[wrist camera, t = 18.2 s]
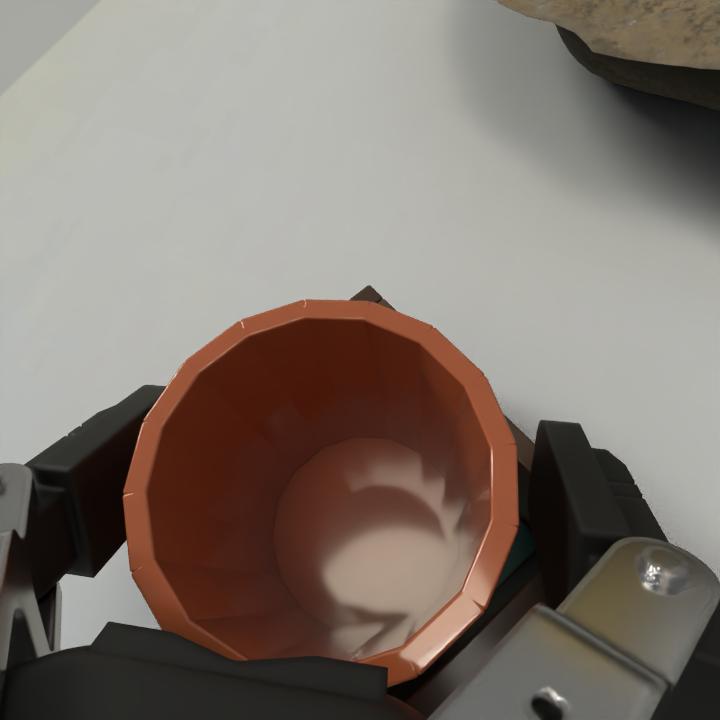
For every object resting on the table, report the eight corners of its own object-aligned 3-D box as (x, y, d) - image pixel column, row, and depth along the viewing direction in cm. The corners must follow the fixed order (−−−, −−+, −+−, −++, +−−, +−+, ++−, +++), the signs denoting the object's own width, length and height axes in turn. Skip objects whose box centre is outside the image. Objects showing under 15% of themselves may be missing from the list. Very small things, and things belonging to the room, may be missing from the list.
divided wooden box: (185, 515, 17) (103, 488, 13) (381, 356, 18) (369, 283, 14) (584, 1135, 11) (692, 1501, 6) (828, 817, 12) (1049, 938, 8)
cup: (227, 518, 16) (60, 451, 8) (378, 394, 17) (344, 241, 10) (351, 702, 13) (269, 824, 6) (517, 543, 15) (609, 490, 7)
